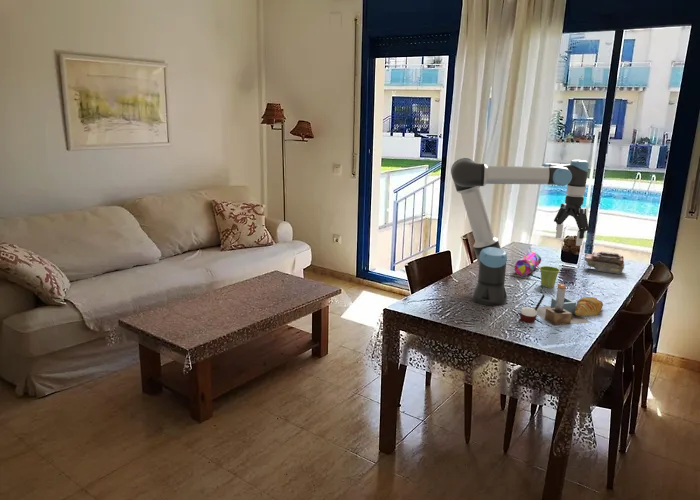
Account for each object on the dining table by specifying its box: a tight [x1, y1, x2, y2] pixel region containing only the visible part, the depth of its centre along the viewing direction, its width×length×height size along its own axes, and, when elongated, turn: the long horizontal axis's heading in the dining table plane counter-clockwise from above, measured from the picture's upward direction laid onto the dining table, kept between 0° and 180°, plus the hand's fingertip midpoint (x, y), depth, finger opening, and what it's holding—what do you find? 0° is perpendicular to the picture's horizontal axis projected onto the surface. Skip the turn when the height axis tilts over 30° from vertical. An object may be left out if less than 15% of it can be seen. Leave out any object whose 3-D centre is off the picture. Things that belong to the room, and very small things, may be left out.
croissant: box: [574, 296, 604, 317], centre depth 228 cm, size 21×10×8 cm
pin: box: [555, 283, 567, 313], centre depth 216 cm, size 3×3×15 cm
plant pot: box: [539, 265, 561, 288], centre depth 262 cm, size 9×9×9 cm
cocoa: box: [516, 294, 546, 324], centre depth 215 cm, size 10×6×12 cm
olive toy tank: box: [584, 251, 625, 275], centre depth 287 cm, size 13×20×10 cm, turn 58°
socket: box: [550, 296, 577, 314], centre depth 227 cm, size 7×7×5 cm
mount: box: [545, 308, 572, 324], centre depth 217 cm, size 7×7×4 cm
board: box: [531, 305, 591, 327], centre depth 223 cm, size 17×20×1 cm
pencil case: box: [514, 251, 542, 277], centre depth 285 cm, size 22×9×9 cm, turn 148°
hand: (568, 241), depth 242 cm, fingers open, 13 cm apart
